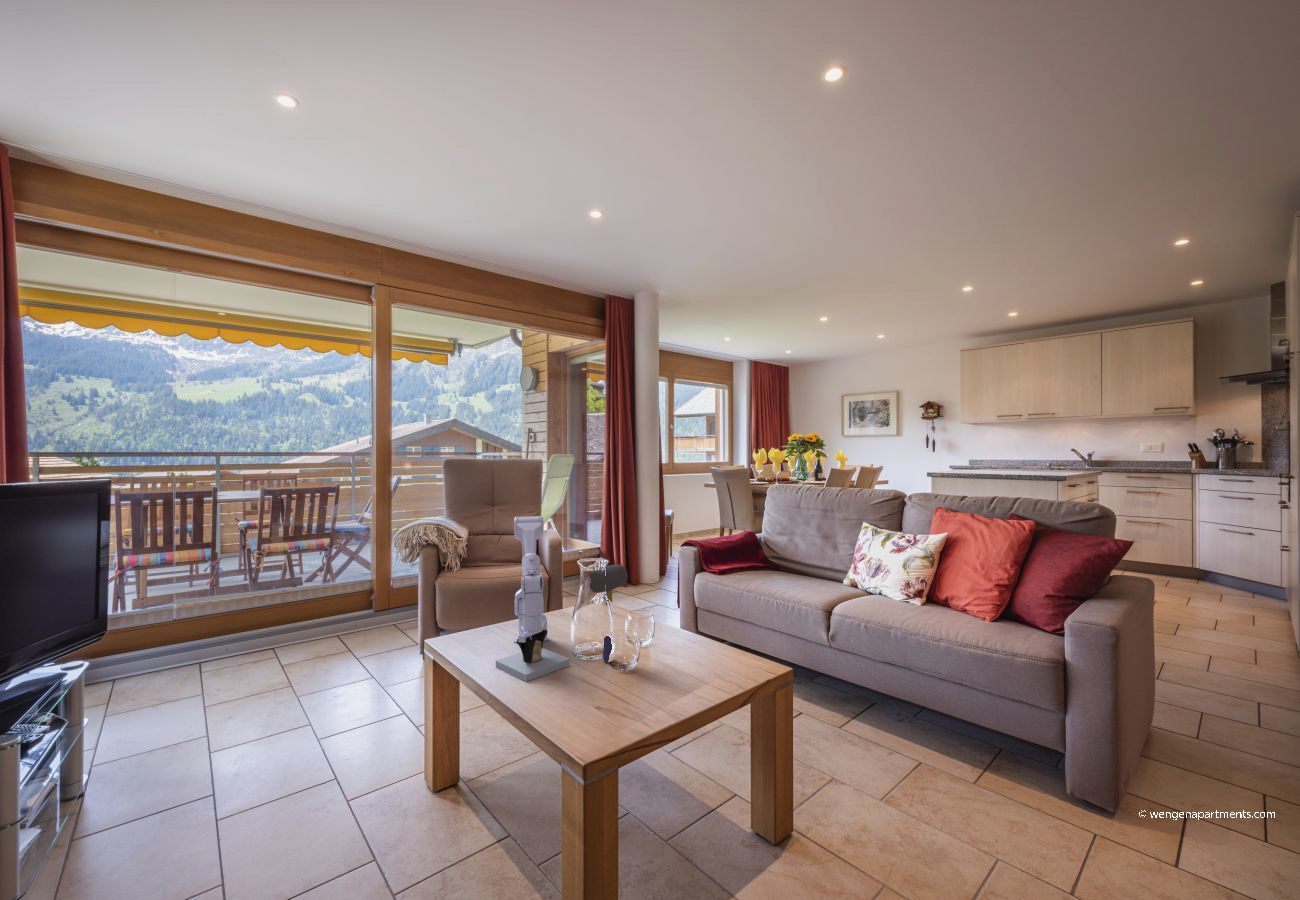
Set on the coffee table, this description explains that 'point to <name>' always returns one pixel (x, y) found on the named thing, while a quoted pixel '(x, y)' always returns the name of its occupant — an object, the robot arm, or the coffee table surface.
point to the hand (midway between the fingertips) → (532, 657)
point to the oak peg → (536, 652)
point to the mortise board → (532, 665)
